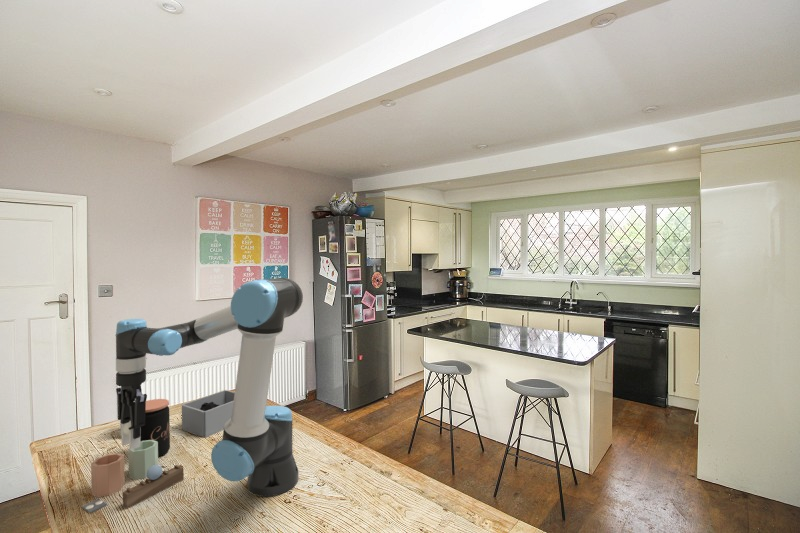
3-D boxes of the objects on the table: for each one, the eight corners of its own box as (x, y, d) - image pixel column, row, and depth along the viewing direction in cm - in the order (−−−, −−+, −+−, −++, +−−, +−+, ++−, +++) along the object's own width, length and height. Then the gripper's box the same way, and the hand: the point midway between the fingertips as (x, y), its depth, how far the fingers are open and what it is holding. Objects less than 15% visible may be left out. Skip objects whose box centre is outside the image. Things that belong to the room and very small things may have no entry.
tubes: (170, 474, 124) (169, 446, 124) (90, 513, 105) (89, 481, 105) (149, 464, 130) (149, 438, 130) (70, 499, 111) (69, 469, 111)
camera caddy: (249, 418, 167) (248, 395, 167) (204, 437, 149) (204, 412, 149) (225, 411, 175) (225, 389, 174) (181, 429, 157) (180, 404, 157)
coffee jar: (153, 463, 131) (152, 411, 130) (126, 460, 133) (125, 408, 132) (177, 448, 141) (176, 399, 141) (152, 445, 143) (151, 397, 143)
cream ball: (141, 433, 118) (141, 421, 118) (127, 439, 115) (127, 425, 115) (135, 430, 120) (135, 418, 120) (120, 435, 117) (120, 422, 117)
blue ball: (165, 477, 115) (165, 464, 115) (151, 484, 112) (151, 470, 112) (157, 473, 117) (157, 460, 117) (143, 480, 114) (143, 467, 114)
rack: (183, 479, 121) (183, 465, 121) (127, 508, 107) (126, 492, 107) (179, 477, 122) (178, 463, 122) (122, 506, 108) (122, 489, 108)
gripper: (159, 372, 116) (158, 448, 116) (130, 362, 124) (130, 433, 125) (131, 378, 109) (131, 459, 110) (103, 368, 118) (103, 443, 119)
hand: (131, 445), depth 118 cm, fingers closed on cream ball, 4 cm apart
